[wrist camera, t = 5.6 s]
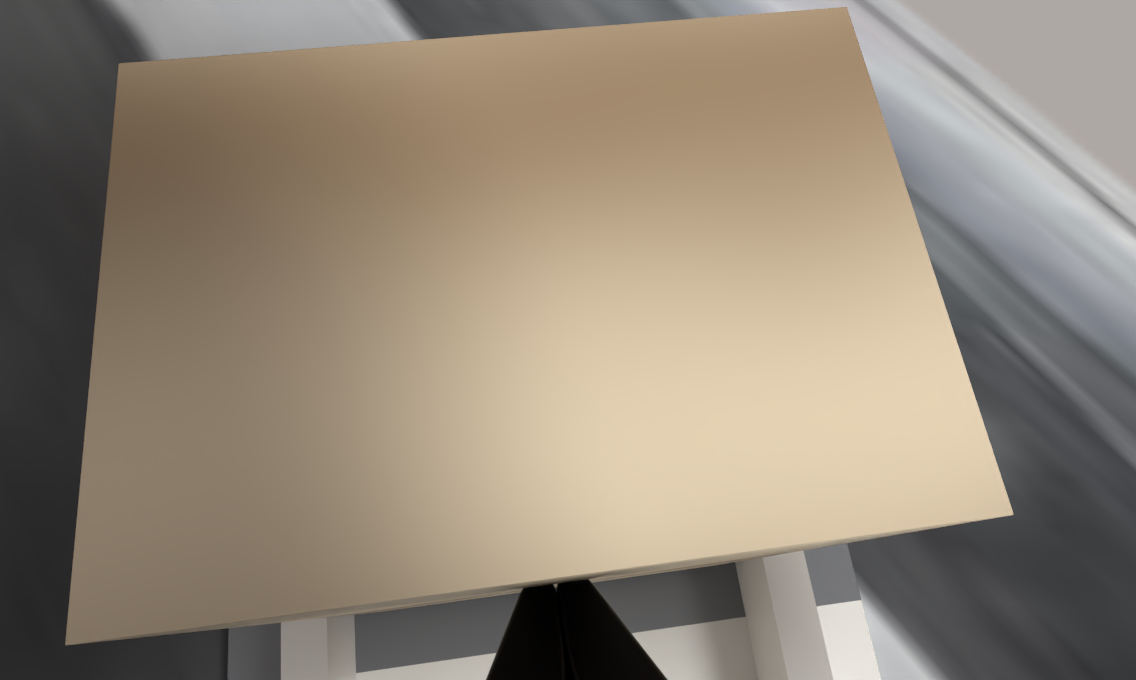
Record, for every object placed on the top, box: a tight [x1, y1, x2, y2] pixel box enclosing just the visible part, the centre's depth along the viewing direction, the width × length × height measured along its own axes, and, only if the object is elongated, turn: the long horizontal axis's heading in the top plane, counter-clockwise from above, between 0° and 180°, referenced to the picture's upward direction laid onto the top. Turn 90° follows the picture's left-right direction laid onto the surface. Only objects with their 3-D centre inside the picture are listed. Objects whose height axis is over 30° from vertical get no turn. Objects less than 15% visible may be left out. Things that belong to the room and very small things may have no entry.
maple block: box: [65, 7, 1014, 645], centre depth 11 cm, size 5×7×10 cm
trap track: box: [227, 543, 881, 680], centre depth 14 cm, size 18×13×2 cm
